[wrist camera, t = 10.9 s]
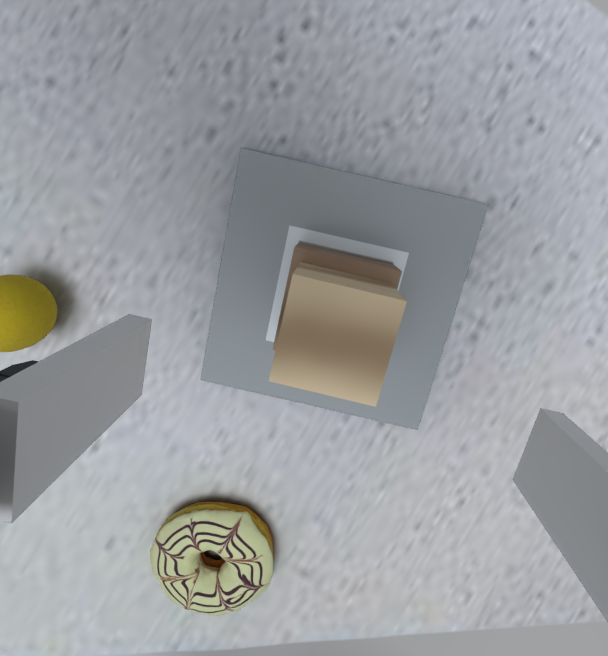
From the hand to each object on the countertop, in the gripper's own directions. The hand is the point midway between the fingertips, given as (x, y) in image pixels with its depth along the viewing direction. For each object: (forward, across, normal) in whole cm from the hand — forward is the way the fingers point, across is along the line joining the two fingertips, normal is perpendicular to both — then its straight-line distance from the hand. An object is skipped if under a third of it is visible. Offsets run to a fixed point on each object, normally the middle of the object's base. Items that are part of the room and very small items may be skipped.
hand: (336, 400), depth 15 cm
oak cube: (+15, 0, -1) cm, 15 cm away
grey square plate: (+21, 0, 0) cm, 21 cm away
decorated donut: (+22, -5, -25) cm, 34 cm away
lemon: (+22, -23, -6) cm, 32 cm away
